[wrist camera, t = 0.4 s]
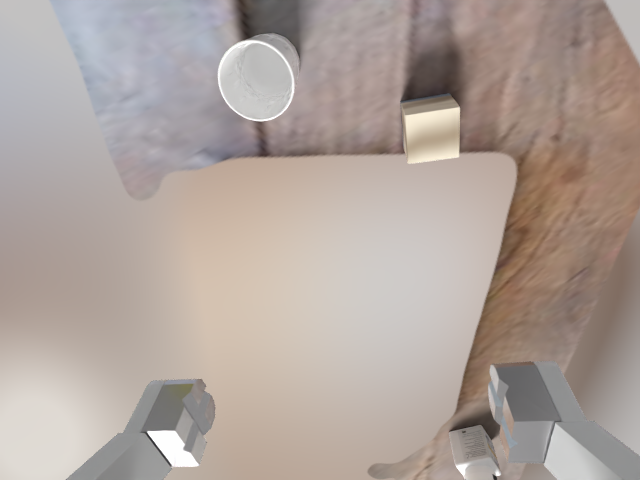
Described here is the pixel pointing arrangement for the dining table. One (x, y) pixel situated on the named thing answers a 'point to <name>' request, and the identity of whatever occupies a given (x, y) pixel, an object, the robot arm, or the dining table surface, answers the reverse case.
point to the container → (474, 453)
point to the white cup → (259, 76)
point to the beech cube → (430, 128)
